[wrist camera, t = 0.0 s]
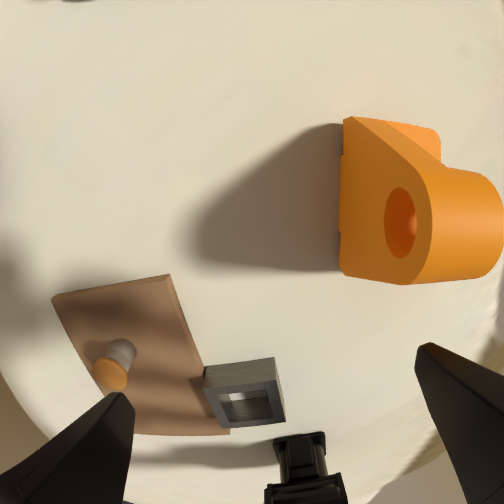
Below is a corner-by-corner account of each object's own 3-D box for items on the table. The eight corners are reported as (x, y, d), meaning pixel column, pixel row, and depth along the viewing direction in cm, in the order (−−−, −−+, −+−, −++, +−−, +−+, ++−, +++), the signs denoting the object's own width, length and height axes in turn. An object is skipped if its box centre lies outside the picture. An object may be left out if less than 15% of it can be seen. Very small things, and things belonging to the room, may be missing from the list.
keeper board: (230, 426, 28) (227, 462, 23) (134, 426, 29) (124, 456, 24) (169, 273, 22) (148, 306, 17) (57, 294, 23) (27, 320, 18)
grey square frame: (283, 400, 27) (285, 421, 24) (224, 407, 27) (222, 428, 24) (274, 357, 25) (276, 379, 22) (206, 366, 25) (202, 388, 22)
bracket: (412, 259, 22) (501, 335, 10) (335, 261, 22) (401, 361, 10) (422, 132, 18) (537, 132, 7) (339, 120, 18) (435, 90, 7)
